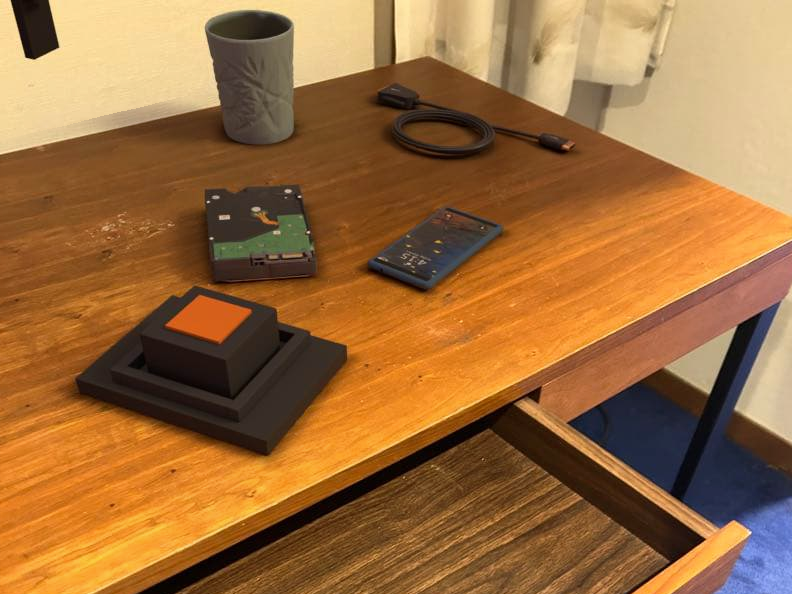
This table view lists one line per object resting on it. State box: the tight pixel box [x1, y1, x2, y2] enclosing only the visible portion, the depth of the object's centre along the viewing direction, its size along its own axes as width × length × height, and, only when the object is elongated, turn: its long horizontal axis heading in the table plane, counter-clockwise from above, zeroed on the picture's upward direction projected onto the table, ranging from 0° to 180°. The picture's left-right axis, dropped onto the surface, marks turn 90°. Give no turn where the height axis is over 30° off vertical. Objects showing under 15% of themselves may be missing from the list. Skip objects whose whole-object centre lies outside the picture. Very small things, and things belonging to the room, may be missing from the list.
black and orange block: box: [139, 285, 280, 400], centre depth 71 cm, size 8×8×4 cm
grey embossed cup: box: [204, 9, 295, 146], centre depth 103 cm, size 10×10×12 cm
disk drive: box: [204, 184, 318, 283], centre depth 88 cm, size 10×3×15 cm
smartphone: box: [367, 205, 504, 291], centre depth 88 cm, size 8×1×15 cm
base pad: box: [74, 294, 348, 456], centre depth 72 cm, size 18×14×3 cm
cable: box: [376, 82, 576, 155], centre depth 107 cm, size 14×28×2 cm, turn 55°
